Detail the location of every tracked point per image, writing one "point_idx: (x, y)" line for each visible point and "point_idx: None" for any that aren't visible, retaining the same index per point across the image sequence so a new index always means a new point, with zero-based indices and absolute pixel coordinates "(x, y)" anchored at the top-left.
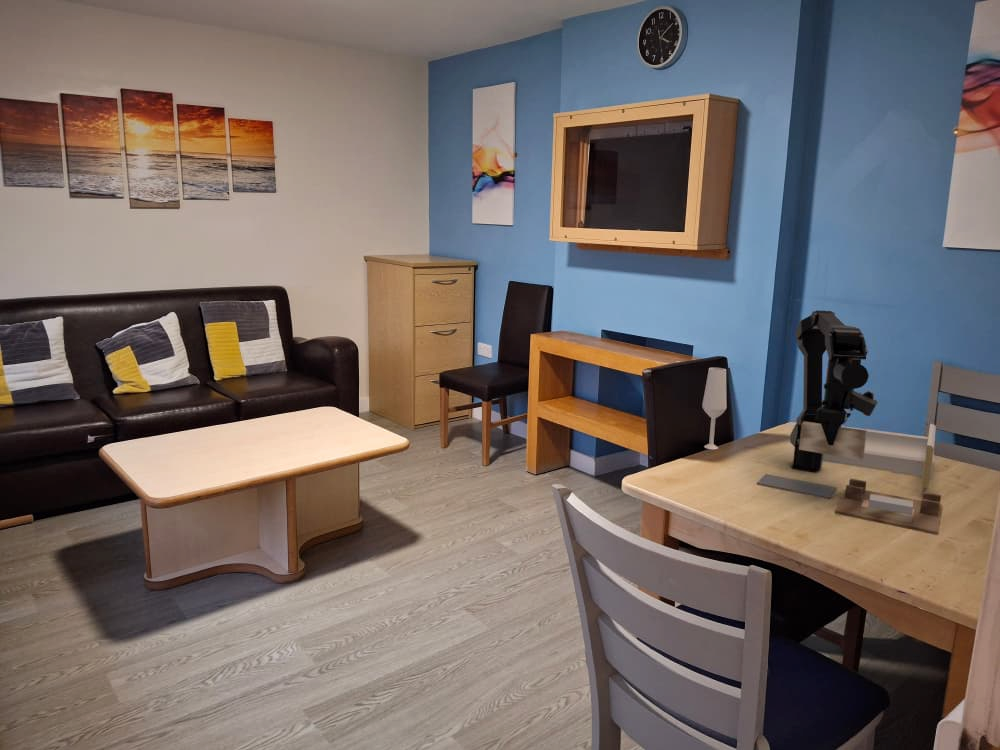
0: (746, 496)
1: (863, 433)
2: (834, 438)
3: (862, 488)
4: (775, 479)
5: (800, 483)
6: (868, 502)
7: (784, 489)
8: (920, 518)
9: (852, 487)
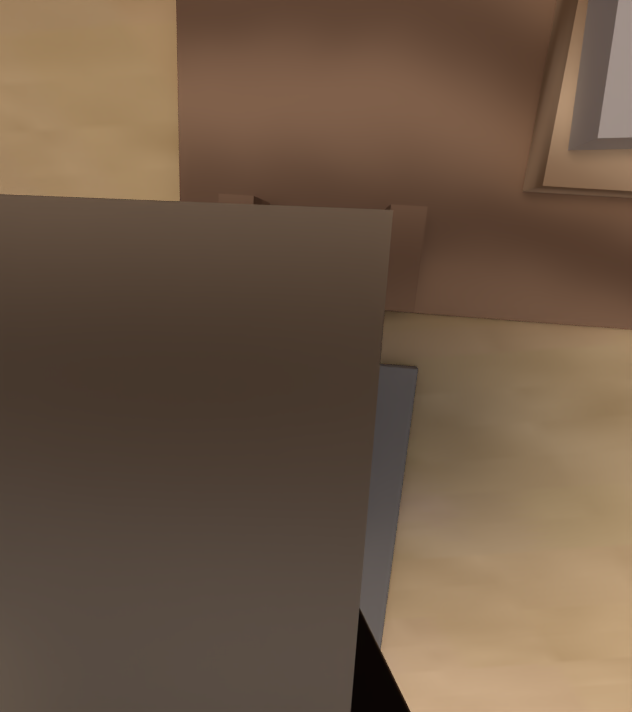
0: (576, 677)
1: (377, 286)
2: (406, 706)
3: (415, 207)
4: None
5: None
6: (596, 155)
7: (391, 560)
8: None
9: (418, 271)
